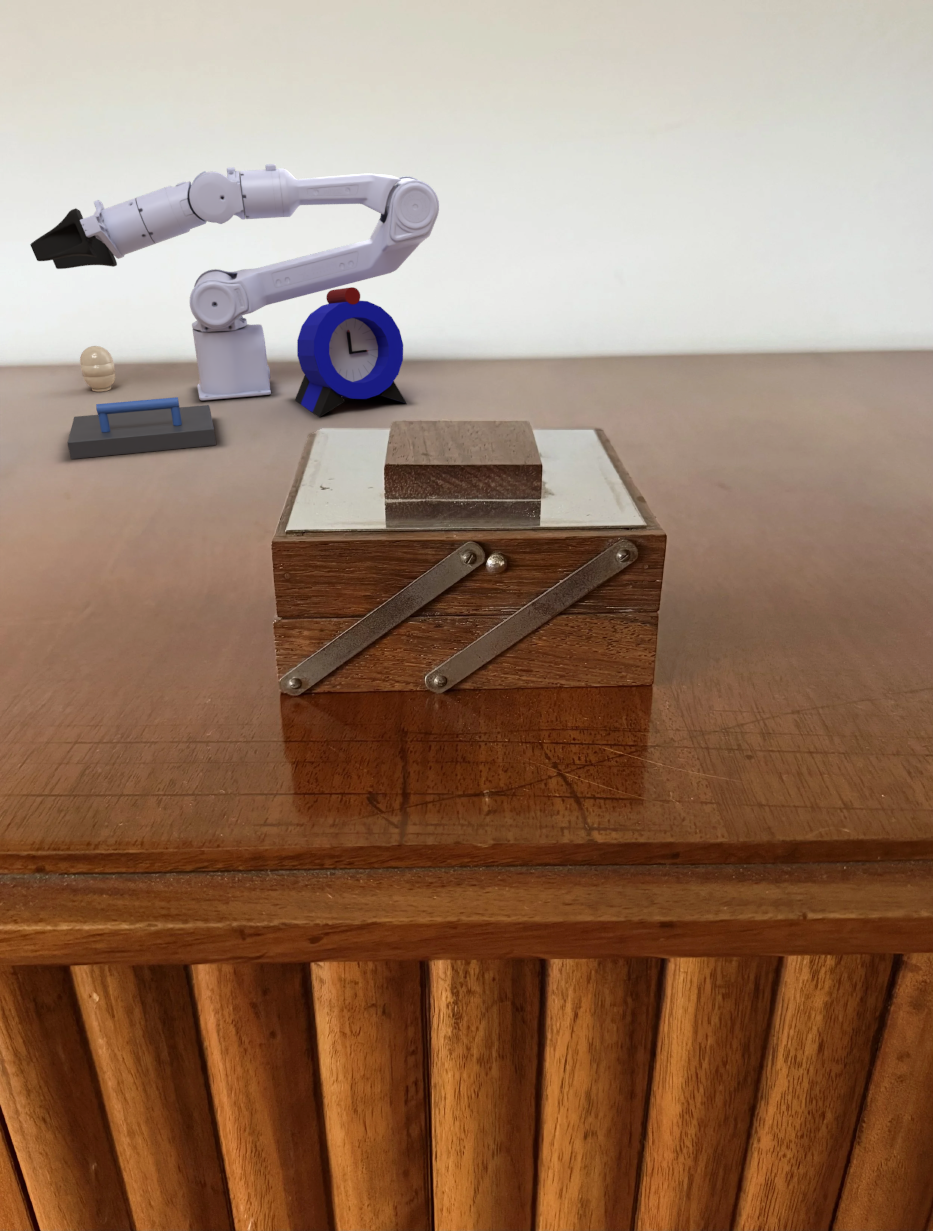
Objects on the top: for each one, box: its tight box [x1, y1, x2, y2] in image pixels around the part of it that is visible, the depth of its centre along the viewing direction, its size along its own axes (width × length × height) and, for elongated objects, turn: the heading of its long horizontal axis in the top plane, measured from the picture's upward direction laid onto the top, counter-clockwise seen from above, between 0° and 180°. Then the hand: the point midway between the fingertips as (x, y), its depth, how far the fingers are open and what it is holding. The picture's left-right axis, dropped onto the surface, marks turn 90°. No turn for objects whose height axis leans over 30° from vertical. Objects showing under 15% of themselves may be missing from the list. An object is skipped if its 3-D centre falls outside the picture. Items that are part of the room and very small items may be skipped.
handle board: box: [67, 396, 217, 460], centre depth 116 cm, size 16×11×5 cm
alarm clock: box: [294, 286, 408, 418], centre depth 128 cm, size 12×12×15 cm
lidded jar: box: [79, 345, 117, 393], centre depth 138 cm, size 4×4×6 cm
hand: (44, 256), depth 125 cm, fingers open, 7 cm apart
